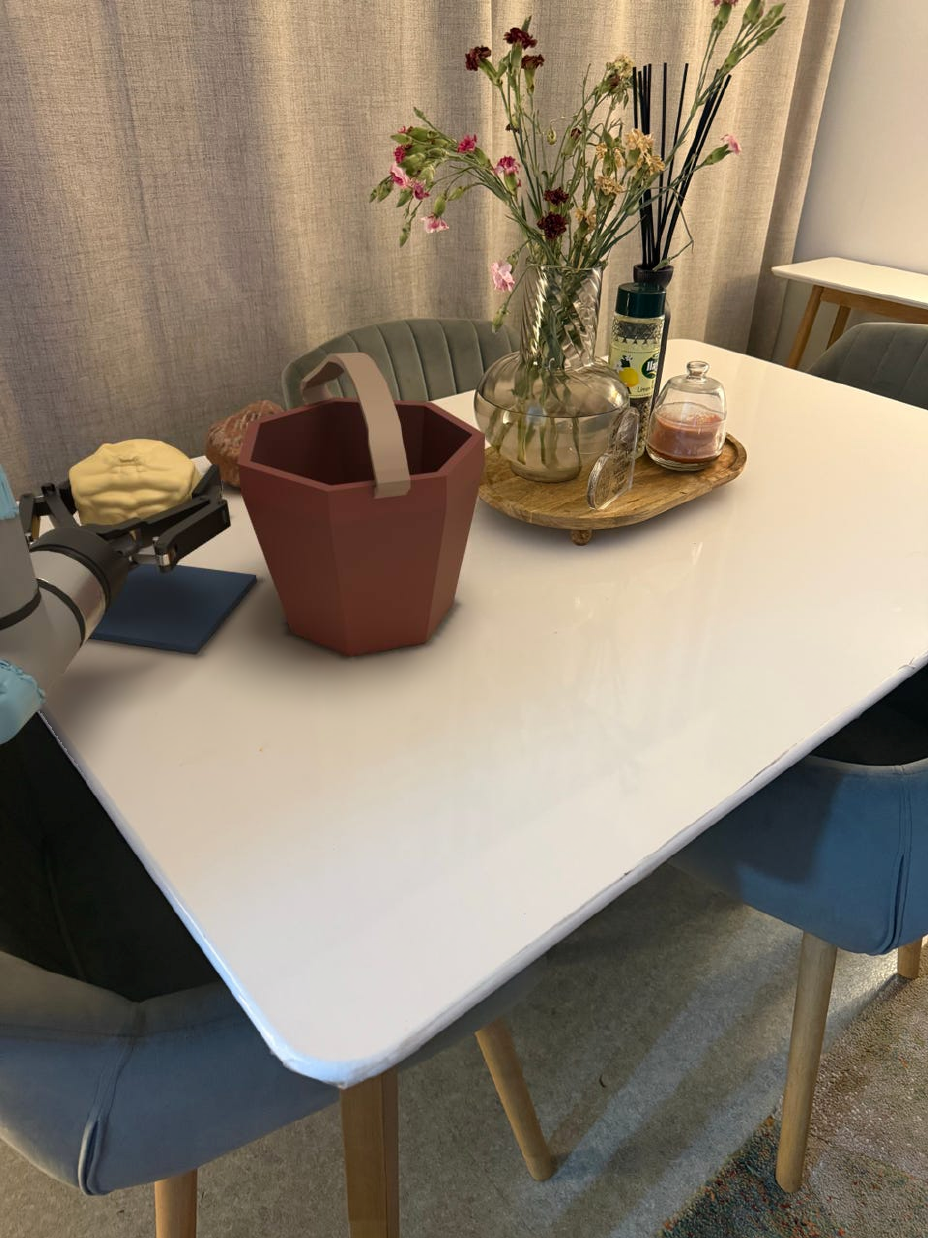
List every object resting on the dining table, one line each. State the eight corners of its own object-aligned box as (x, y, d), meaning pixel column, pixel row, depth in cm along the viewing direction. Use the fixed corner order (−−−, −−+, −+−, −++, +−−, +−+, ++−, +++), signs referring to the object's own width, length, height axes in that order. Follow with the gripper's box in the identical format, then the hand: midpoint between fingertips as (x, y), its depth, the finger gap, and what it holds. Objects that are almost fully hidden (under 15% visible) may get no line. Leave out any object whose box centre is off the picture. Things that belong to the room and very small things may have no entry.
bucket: (276, 554, 101) (248, 331, 87) (469, 546, 103) (471, 326, 89) (255, 684, 80) (215, 420, 67) (496, 671, 82) (505, 412, 69)
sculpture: (79, 578, 82) (50, 470, 76) (103, 519, 92) (79, 419, 86) (206, 570, 83) (188, 463, 77) (216, 513, 93) (201, 414, 87)
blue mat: (65, 634, 87) (63, 627, 87) (139, 565, 98) (138, 559, 98) (196, 653, 84) (195, 647, 84) (257, 581, 96) (256, 574, 95)
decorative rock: (264, 452, 125) (255, 383, 120) (322, 472, 120) (316, 400, 115) (191, 484, 116) (178, 410, 111) (250, 506, 111) (240, 430, 106)
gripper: (-74, 623, 72) (45, 505, 90) (218, 635, 71) (279, 513, 89) (-106, 542, 68) (26, 435, 86) (205, 553, 67) (271, 443, 85)
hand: (155, 475), depth 87 cm, fingers closed on sculpture, 12 cm apart
